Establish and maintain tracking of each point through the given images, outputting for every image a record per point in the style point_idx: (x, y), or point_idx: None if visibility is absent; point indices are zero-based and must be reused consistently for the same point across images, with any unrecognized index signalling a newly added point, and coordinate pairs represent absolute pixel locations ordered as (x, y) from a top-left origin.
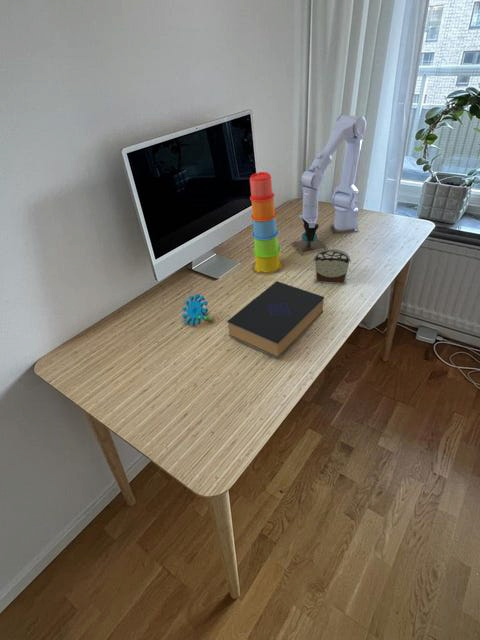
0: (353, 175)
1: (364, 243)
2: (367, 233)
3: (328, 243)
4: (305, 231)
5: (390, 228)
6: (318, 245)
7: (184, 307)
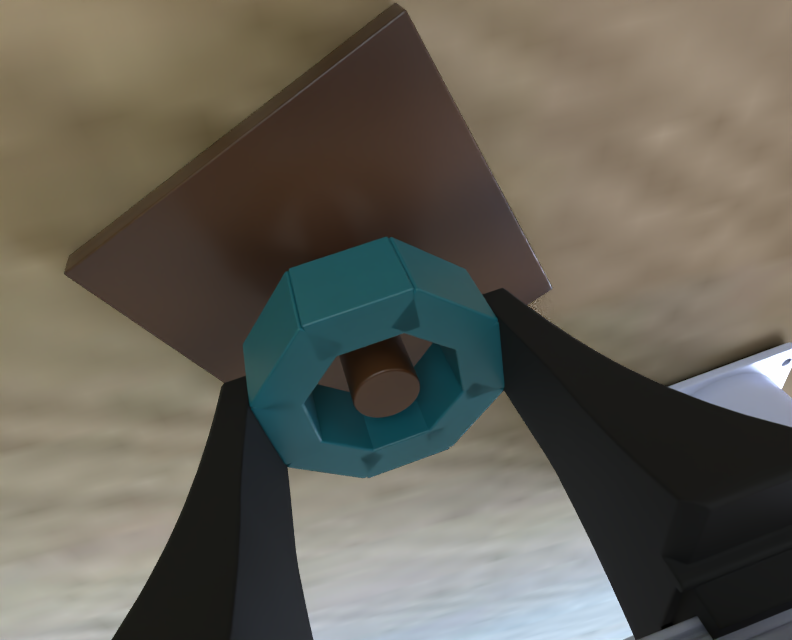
0: None
1: (441, 566)
2: (582, 536)
3: None
4: (501, 320)
5: None
6: (342, 376)
7: None
